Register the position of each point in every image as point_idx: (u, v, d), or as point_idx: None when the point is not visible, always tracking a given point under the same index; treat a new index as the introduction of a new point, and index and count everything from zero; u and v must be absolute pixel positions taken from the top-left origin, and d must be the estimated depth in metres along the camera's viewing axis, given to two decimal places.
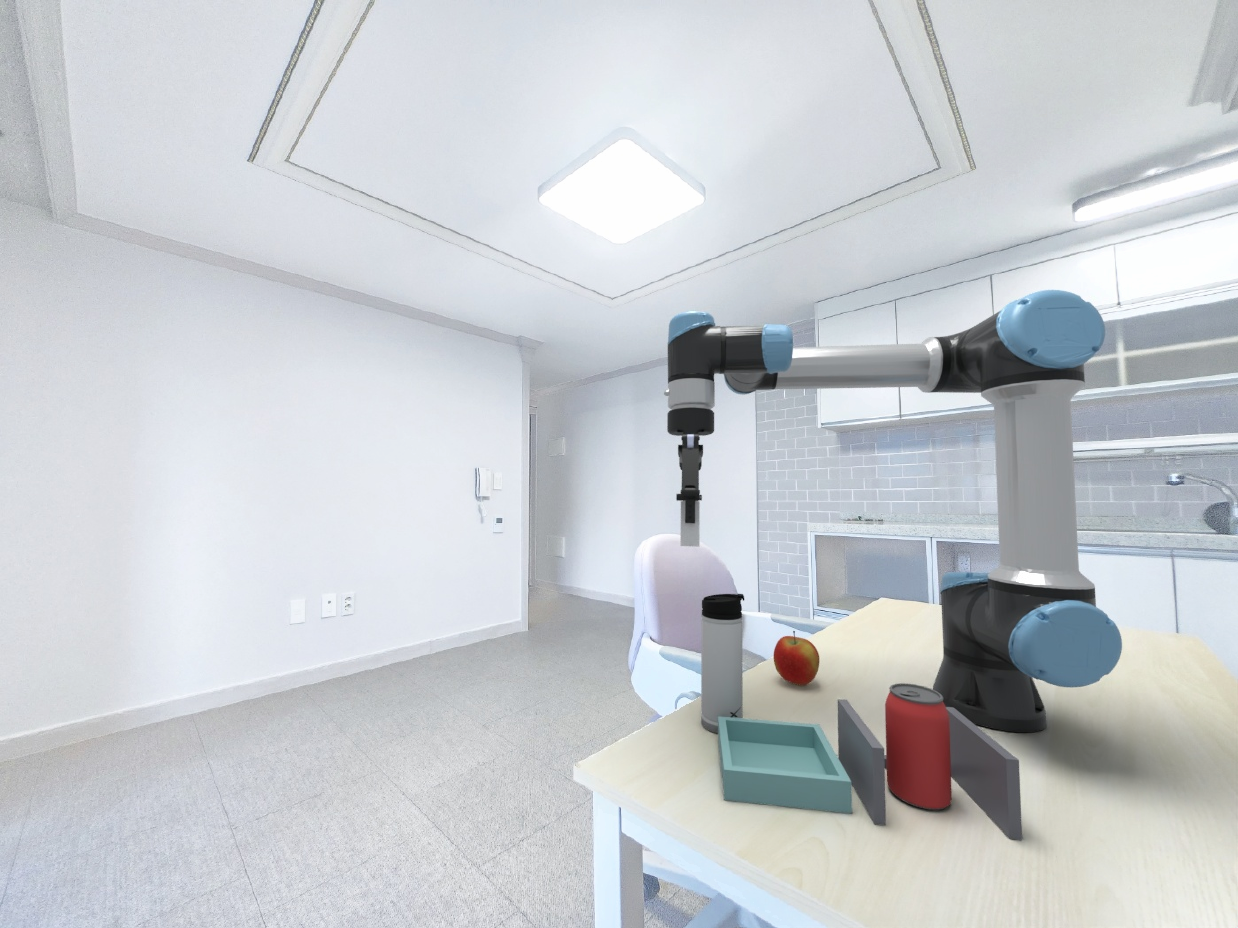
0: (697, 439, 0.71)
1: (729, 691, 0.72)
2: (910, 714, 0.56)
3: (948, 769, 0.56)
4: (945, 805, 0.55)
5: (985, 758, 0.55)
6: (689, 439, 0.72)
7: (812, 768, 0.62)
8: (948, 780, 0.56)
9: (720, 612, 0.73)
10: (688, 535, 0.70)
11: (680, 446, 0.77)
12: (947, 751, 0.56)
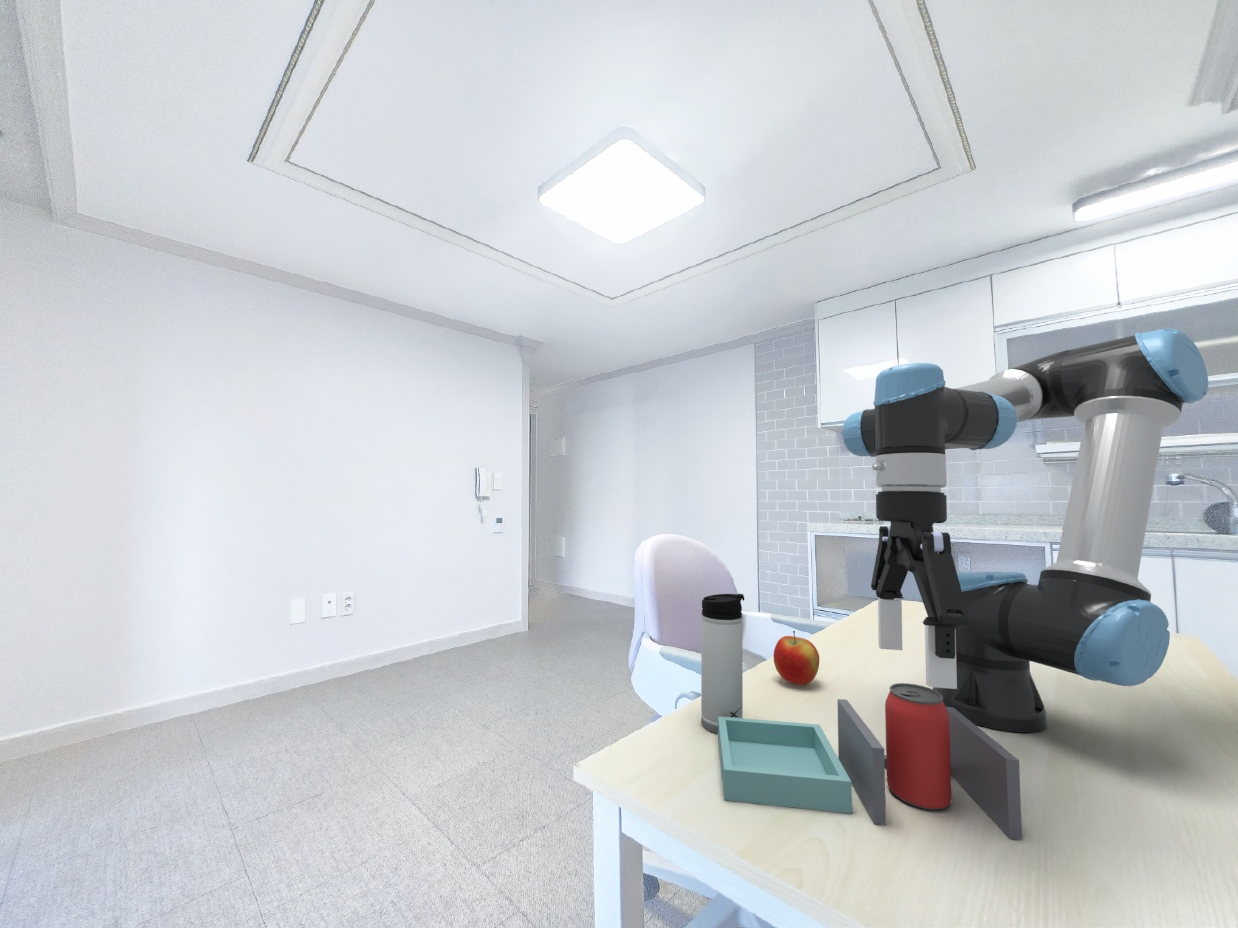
0: (948, 540, 0.53)
1: (729, 691, 0.72)
2: (910, 714, 0.56)
3: (948, 769, 0.56)
4: (945, 805, 0.55)
5: (985, 758, 0.55)
6: (936, 539, 0.53)
7: (812, 768, 0.62)
8: (948, 780, 0.56)
9: (720, 612, 0.73)
10: (940, 672, 0.52)
11: (903, 540, 0.58)
12: (947, 751, 0.56)
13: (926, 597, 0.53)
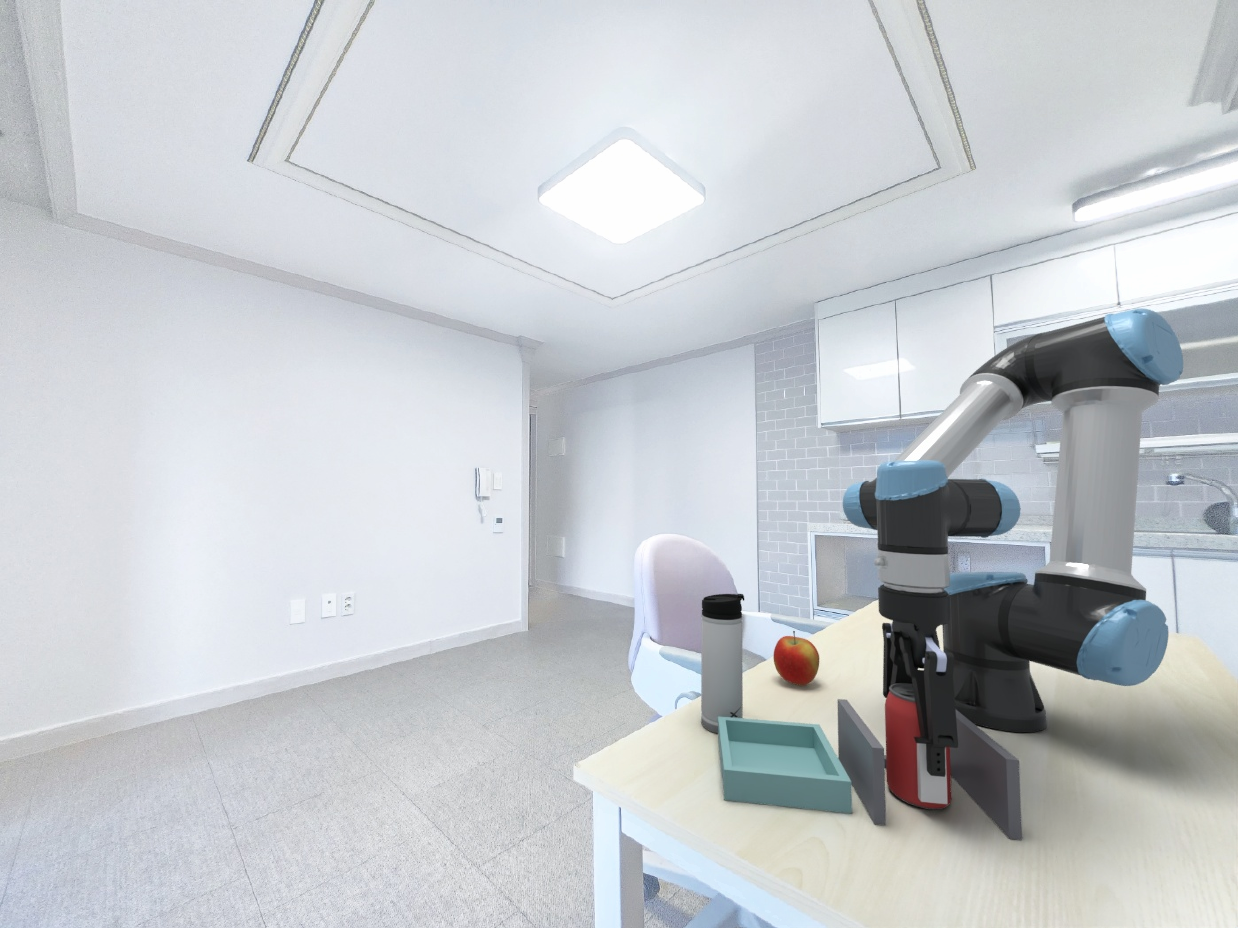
0: (952, 663, 0.52)
1: (729, 691, 0.72)
2: (910, 714, 0.56)
3: (948, 769, 0.56)
4: (945, 805, 0.55)
5: (985, 758, 0.55)
6: (940, 662, 0.53)
7: (812, 768, 0.62)
8: (948, 780, 0.56)
9: (720, 612, 0.73)
10: (931, 788, 0.54)
11: (906, 643, 0.58)
12: (947, 751, 0.56)
13: (921, 713, 0.55)
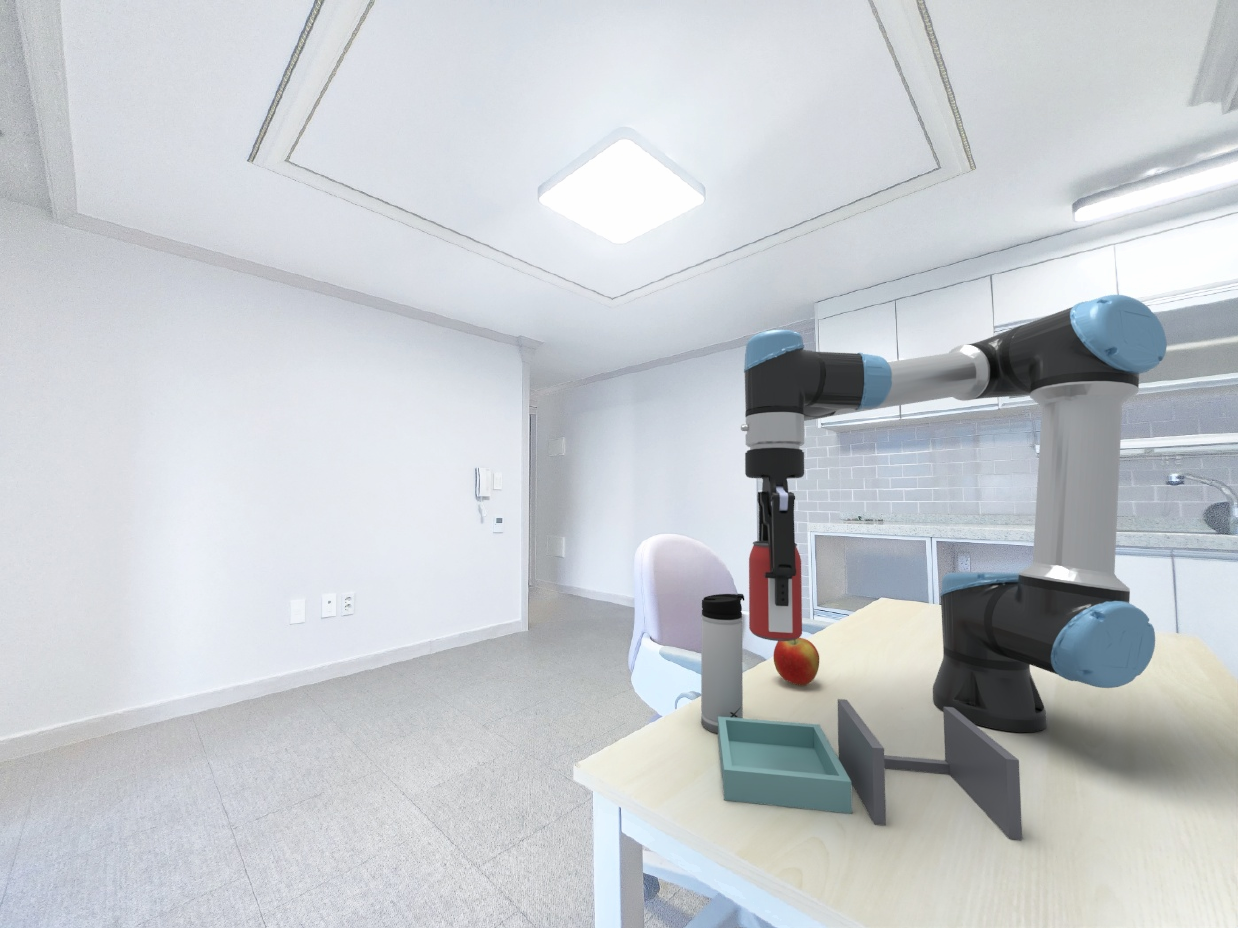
0: (792, 501, 0.58)
1: (729, 691, 0.72)
2: (764, 557, 0.62)
3: (797, 605, 0.61)
4: (792, 636, 0.60)
5: (985, 758, 0.55)
6: (782, 501, 0.58)
7: (812, 768, 0.62)
8: (797, 615, 0.61)
9: (720, 612, 0.73)
10: (779, 619, 0.60)
11: (764, 495, 0.63)
12: (796, 589, 0.61)
13: (770, 553, 0.60)
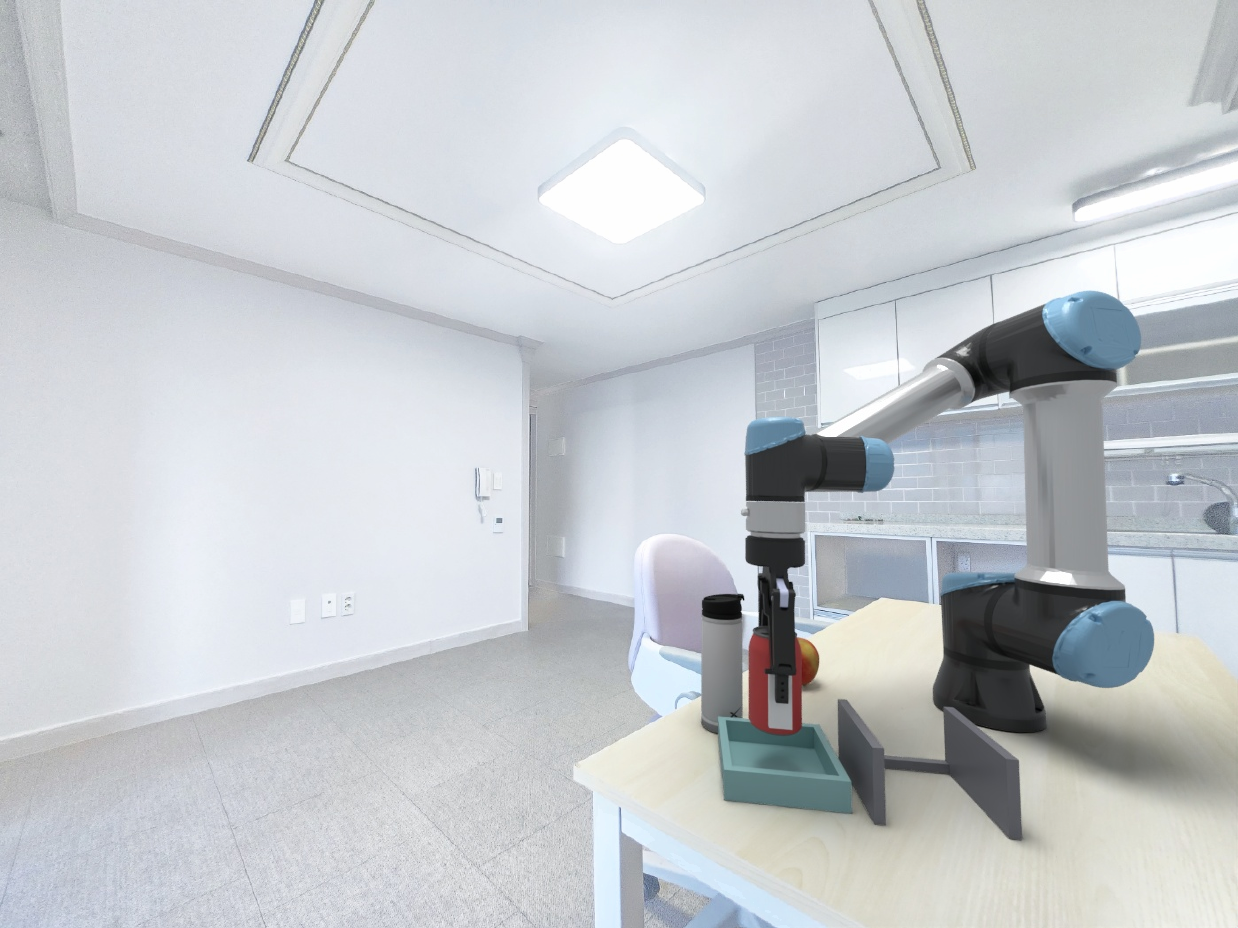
0: (793, 599, 0.57)
1: (729, 691, 0.72)
2: (764, 649, 0.61)
3: (797, 699, 0.60)
4: (792, 732, 0.60)
5: (985, 758, 0.55)
6: (782, 598, 0.57)
7: (812, 768, 0.62)
8: (797, 709, 0.60)
9: (720, 612, 0.73)
10: (778, 715, 0.59)
11: (764, 585, 0.62)
12: (796, 683, 0.60)
13: (770, 647, 0.59)
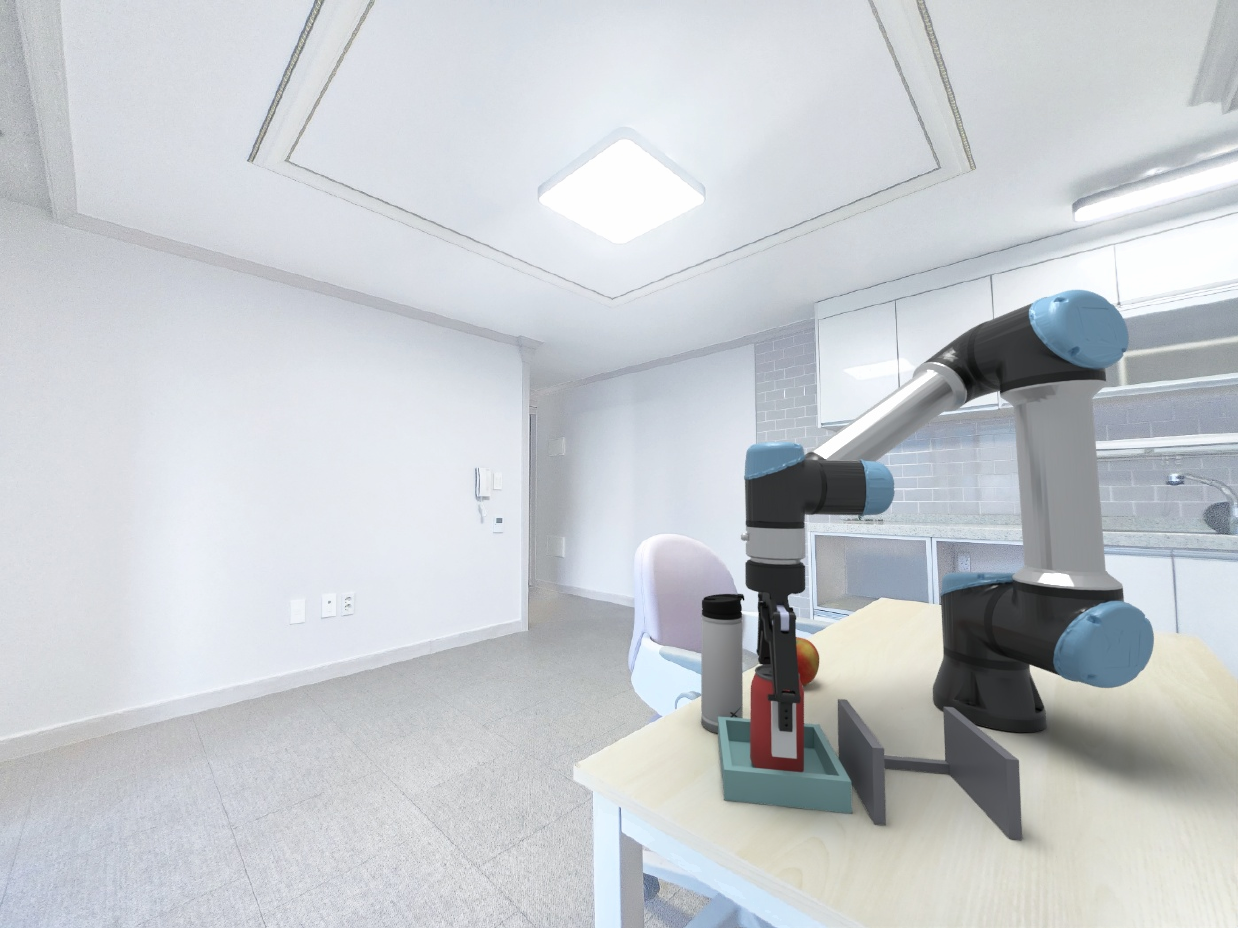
0: (794, 621, 0.57)
1: (729, 691, 0.72)
2: (766, 691, 0.61)
3: (799, 742, 0.60)
4: None
5: (985, 758, 0.55)
6: (783, 620, 0.57)
7: (812, 768, 0.62)
8: (799, 753, 0.60)
9: (720, 612, 0.73)
10: (782, 743, 0.57)
11: (764, 610, 0.62)
12: (799, 726, 0.60)
13: (773, 673, 0.58)
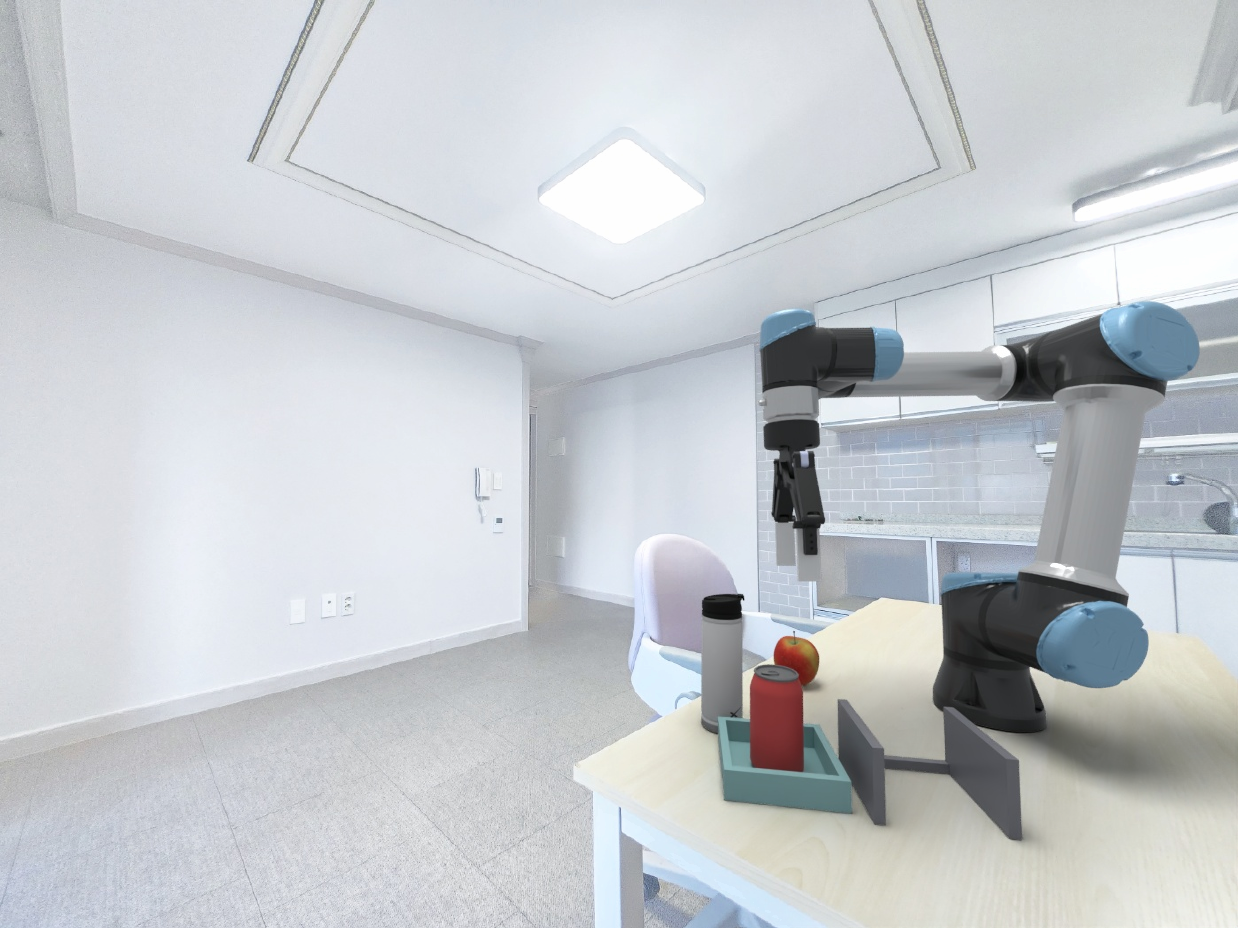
0: (812, 457, 0.62)
1: (729, 691, 0.72)
2: (765, 691, 0.61)
3: (798, 742, 0.60)
4: None
5: (985, 758, 0.55)
6: (803, 457, 0.62)
7: (812, 768, 0.62)
8: (798, 752, 0.60)
9: (720, 612, 0.73)
10: (808, 568, 0.61)
11: (783, 463, 0.67)
12: (798, 725, 0.60)
13: (796, 506, 0.62)
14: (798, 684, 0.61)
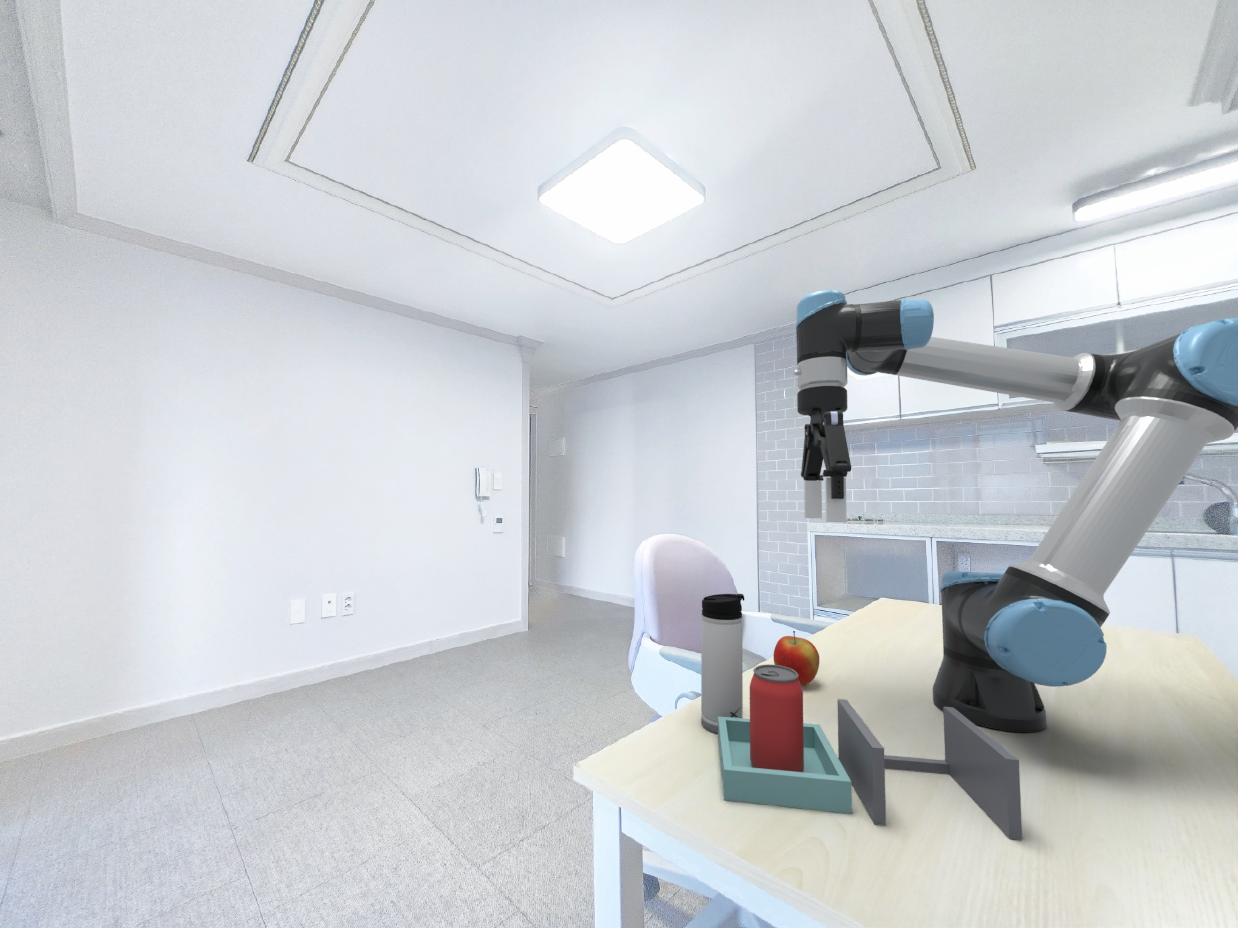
0: (841, 416, 0.72)
1: (729, 691, 0.72)
2: (764, 691, 0.61)
3: (798, 742, 0.60)
4: None
5: (985, 758, 0.55)
6: (833, 416, 0.72)
7: (812, 768, 0.62)
8: (798, 752, 0.60)
9: (720, 612, 0.73)
10: (835, 511, 0.71)
11: (814, 424, 0.77)
12: (798, 726, 0.60)
13: (826, 458, 0.72)
14: (798, 684, 0.61)
